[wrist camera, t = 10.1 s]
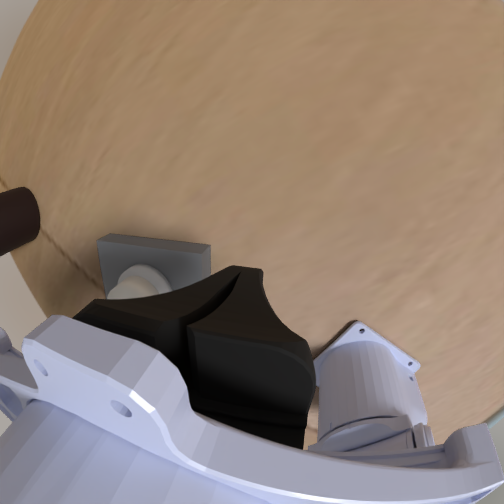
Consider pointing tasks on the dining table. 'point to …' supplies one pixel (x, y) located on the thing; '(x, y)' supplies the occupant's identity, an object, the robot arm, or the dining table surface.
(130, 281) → the knob
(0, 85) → the dining table surface
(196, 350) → the robot arm
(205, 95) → the dining table surface
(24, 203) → the bottle
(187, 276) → the knob panel
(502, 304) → the dining table surface
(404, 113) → the dining table surface
